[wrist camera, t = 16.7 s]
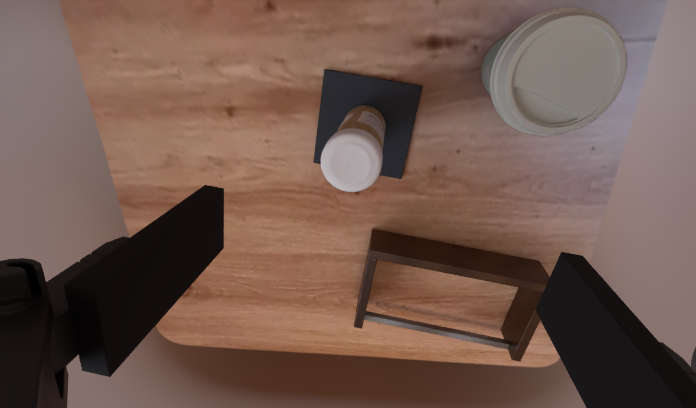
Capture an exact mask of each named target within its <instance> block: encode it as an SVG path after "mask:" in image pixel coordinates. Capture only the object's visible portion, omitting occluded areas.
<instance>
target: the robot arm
mask: <svg viewBox="0 0 696 408" xmlns="http://www.w3.org/2000/svg"><path fill="white" fill-rule="evenodd" d="M223 248H224V189H223V188H218V187H213V186H207V185H205V186H203V187H202V188H200V189H199V190H198V191H196V192H195V193H193V194H192V195H190V196H189V197H188V198H186V199H185V200H183V201H182V202H180V203H179V204H178V205H176V206H175V207H173V208H172V209H170V210H169V211H168V212H166V213H165V214H163V215H162V216H160V217H159V218H158V219H156V220H155V221H153V222H152V223H150V224H149V225H148V226H146V227H145V228H143V229H142V230H141V231H139V232H138V233H136V234H135V235H133V236H132V237H131V238H128V237H121V238H118V239H115V240H113V241H110V242H107V243H105V244H103V245H102V246H100V247H99V248H98V249H96V250H95V251H93V252H92V254H89V255H87V256H85V257H84V258H82V259H81V260H80V262H76V263H75V264H73V265H72V266H70V267H69V268H67V269H66V270H64V271H63V272H61V273H60V274H58V275H57V276H55V277H54V278H52V279H51V280H49V281H48V282H46V281H45V277H44V273H43V269H42V266H41V264H40V263H39V262H37V261H35V260H31V259H23V258H22V259H8V260H3V261H0V408H67V394H68V372H67V368H66V366H67V365H68V363H70V362H71V361H72V360H73V359H74V358H75V357H76V356H77V355H78V354H79V358H80V362H81V367H82V370H83V371H86V372H91V373H95V374H100V375H104V376H109V377H110V376H111V375H112V374H113V373H114V372H115V371H116V370H117V368H118V367H119V366H120V365H121V364H122V363H123V362H124V360H125V359H126V358H127V357H128V356H129V355H130V353H131V352H132V351H133V350H134V349H135V348H136V347H137V346H138V344H139V343H140V342H141V341H142V340H143V339H144V338H145V337H146V335H147V334H148V333H149V332H150V331H151V330H152V329H153V328H154V326H155V325H156V324H157V323H158V322H159V321H160V320H161V318H162V317H163V316H164V315H165V314H166V313H167V312H168V311H169V309H170V308H171V307H172V306H173V305H174V304H175V303H176V301H177V300H178V299H179V298H180V297H181V296H182V295H183V293H184V292H185V291H186V290H187V289H188V288H189V287H190V286H191V284H192V283H193V282H194V281H195V280H196V279H197V278H198V276H199V275H200V274H201V273H202V272H203V271H204V270H205V269H206V267H207V266H208V265H209V264H210V263H211V262H212V261H213V259H214V258H215V257H216V256H217V255H218V254H219V253H220V252H221V250H222V249H223ZM535 310H536V312H537V314H538V316H539V318H540V320H541V322H542V323H543V325H544V327H545V329H546V331H547V333H548V335H549V337H550V339H551V341H552V343H553V344H554V346H555V348H556V350H557V352H558V354H559V356H560V358H561V360H562V362H563V364H564V365H565V367H566V369H567V371H568V373H569V375H570V377H571V379H572V381H573V383H574V384H575V386H576V388H577V390H578V392H579V394H580V396H581V398H582V400H583V402H584V404H585V406H586V408H696V372H695V371H694V370H693V369H692V368H691V367H690V366H689V365H688V363H687V362H686V361H685V360H684V359H683V358H682V357H680V356H679V355H678V354H677V353H675V352H674V351H673V350H671V349H670V348H669V347H667V346H666V345H665V344H664V343H661V342H658V341H657V339H656V338H655V337H654V336H653V335H652V334H651V333H650V331H649V330H648V329H647V328H646V327H645V326H644V325H643V324H642V322H641V321H640V320H639V319H638V318H637V317H636V316H635V315H634V313H633V312H632V311H631V310H630V309H629V308H628V307H627V306H626V304H625V303H624V302H623V301H622V300H621V299H620V298H619V297H618V295H617V294H616V293H615V292H614V291H613V290H612V289H611V288H610V287H609V285H608V284H607V283H606V282H605V281H604V280H603V278H602V277H601V276H600V275H599V274H598V273H597V272H596V271H595V270H594V268H593V267H592V266H591V265H590V264H589V263H588V262H587V260H586V259H585V258H584V257H583V256H581V255H575V254H570V253H565V252H561V254H560V256H559V258H558V261H557V263H556V265H555V267H554V270H553V272H552V274H551V276H550V278H549V281H548V283H547V285H546V287H545V289H544V292H543V294H542V296H541V298H540V301H539V303H538V305H537V307H536V309H535Z"/></svg>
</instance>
